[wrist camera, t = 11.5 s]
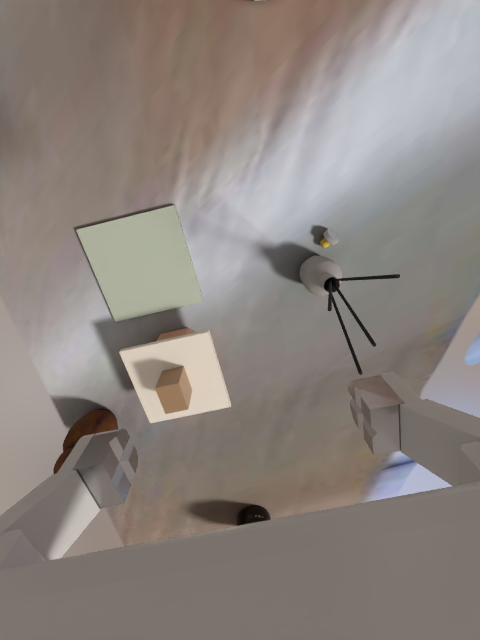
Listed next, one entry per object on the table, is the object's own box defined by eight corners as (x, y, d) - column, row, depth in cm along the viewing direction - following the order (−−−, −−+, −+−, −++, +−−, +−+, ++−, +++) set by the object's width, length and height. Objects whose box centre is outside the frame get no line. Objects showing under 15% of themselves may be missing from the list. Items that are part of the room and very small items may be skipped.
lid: (121, 349, 38) (106, 368, 34) (209, 329, 37) (205, 346, 33) (151, 419, 43) (142, 444, 38) (230, 403, 42) (230, 426, 37)
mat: (78, 229, 37) (75, 229, 37) (175, 205, 36) (174, 205, 36) (116, 320, 42) (115, 322, 41) (203, 300, 41) (202, 301, 41)
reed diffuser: (322, 304, 42) (395, 383, 23) (276, 296, 41) (313, 371, 23) (344, 231, 38) (450, 257, 20) (293, 222, 38) (354, 239, 19)
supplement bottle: (265, 529, 60) (272, 603, 49) (233, 524, 59) (233, 598, 48) (274, 507, 58) (284, 579, 46) (241, 502, 57) (243, 574, 46)
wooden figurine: (114, 400, 47) (65, 482, 33) (128, 426, 49) (88, 514, 35) (76, 409, 48) (12, 494, 34) (92, 435, 50) (37, 525, 36)
